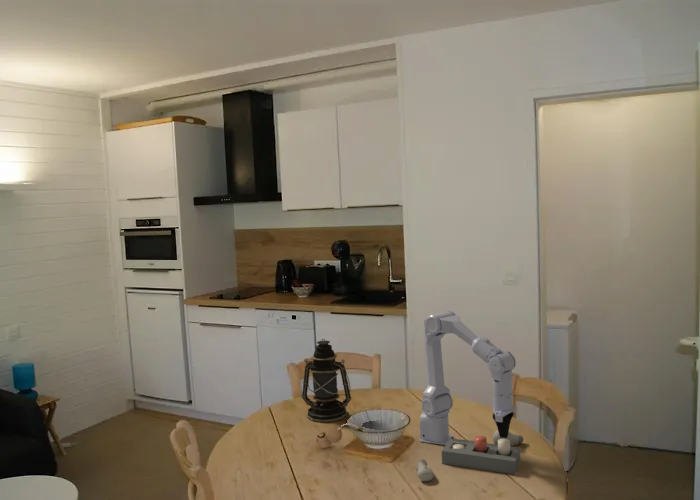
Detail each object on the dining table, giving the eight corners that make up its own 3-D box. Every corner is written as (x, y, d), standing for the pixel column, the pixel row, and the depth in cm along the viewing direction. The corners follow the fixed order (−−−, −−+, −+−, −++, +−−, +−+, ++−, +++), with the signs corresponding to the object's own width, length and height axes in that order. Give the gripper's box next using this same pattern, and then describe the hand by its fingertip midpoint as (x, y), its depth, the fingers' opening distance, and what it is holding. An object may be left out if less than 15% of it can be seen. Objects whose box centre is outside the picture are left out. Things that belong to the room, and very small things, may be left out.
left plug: (451, 459, 179) (451, 448, 179) (454, 454, 182) (454, 443, 182) (463, 461, 178) (462, 449, 177) (465, 456, 181) (465, 444, 181)
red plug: (473, 451, 176) (473, 439, 176) (476, 446, 179) (476, 435, 179) (485, 453, 174) (485, 441, 174) (488, 448, 178) (487, 436, 177)
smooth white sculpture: (432, 487, 165) (415, 482, 165) (430, 473, 173) (413, 469, 173) (437, 473, 165) (419, 468, 165) (434, 460, 173) (417, 456, 173)
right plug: (497, 454, 173) (496, 442, 173) (499, 449, 176) (498, 438, 176) (509, 456, 171) (508, 444, 171) (511, 451, 175) (510, 439, 174)
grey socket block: (442, 463, 177) (441, 450, 177) (450, 450, 186) (450, 438, 186) (515, 474, 168) (515, 461, 168) (520, 460, 177) (520, 447, 177)
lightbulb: (530, 436, 186) (502, 435, 182) (525, 453, 187) (496, 451, 183) (520, 426, 191) (492, 424, 188) (515, 442, 193) (487, 440, 189)
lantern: (295, 421, 218) (291, 343, 215) (308, 406, 233) (304, 334, 231) (347, 423, 213) (343, 344, 211) (357, 408, 228) (353, 334, 226)
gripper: (512, 402, 164) (513, 448, 165) (519, 386, 177) (521, 429, 178) (487, 399, 167) (488, 445, 168) (496, 384, 180) (497, 426, 181)
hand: (503, 436), depth 173 cm, fingers closed
